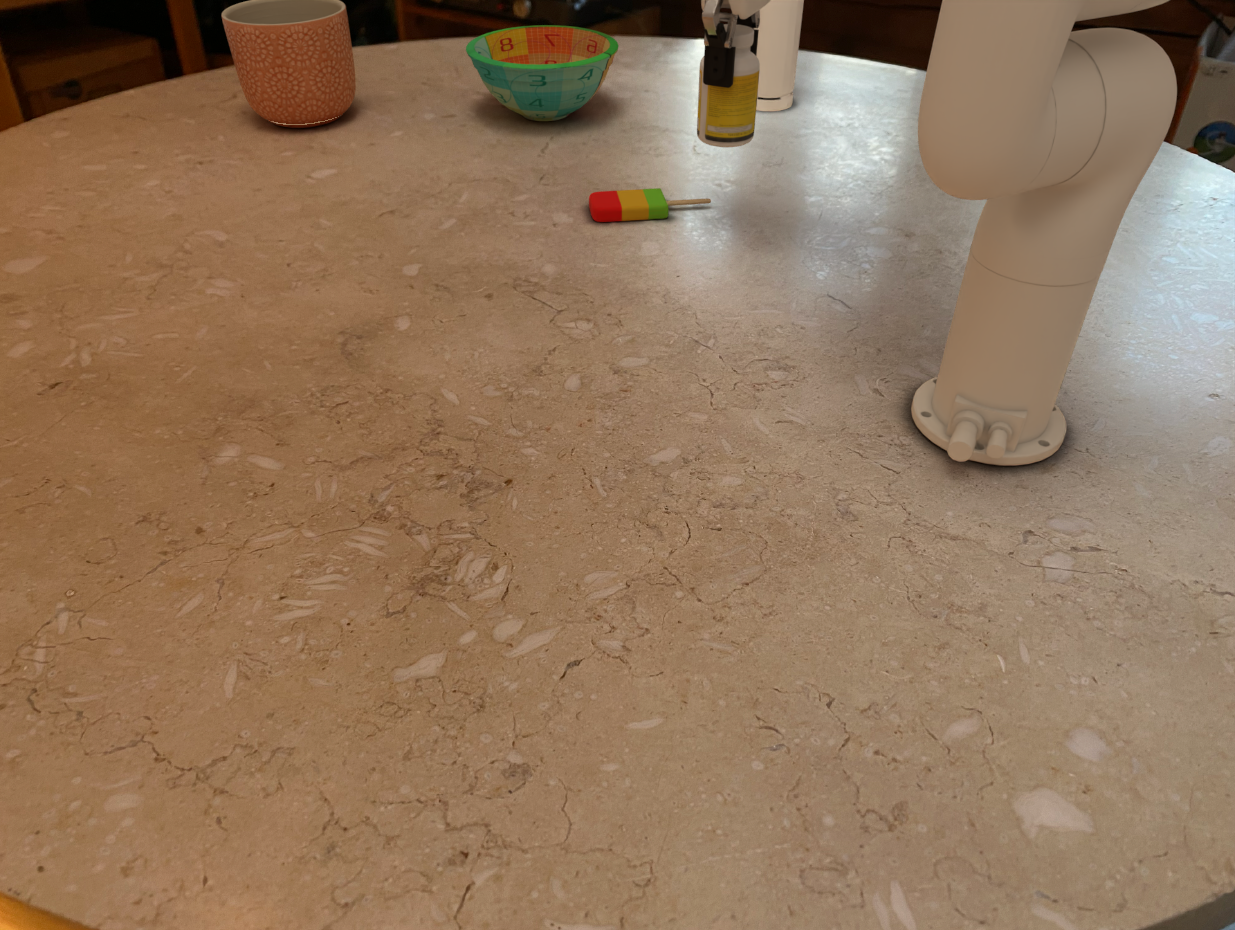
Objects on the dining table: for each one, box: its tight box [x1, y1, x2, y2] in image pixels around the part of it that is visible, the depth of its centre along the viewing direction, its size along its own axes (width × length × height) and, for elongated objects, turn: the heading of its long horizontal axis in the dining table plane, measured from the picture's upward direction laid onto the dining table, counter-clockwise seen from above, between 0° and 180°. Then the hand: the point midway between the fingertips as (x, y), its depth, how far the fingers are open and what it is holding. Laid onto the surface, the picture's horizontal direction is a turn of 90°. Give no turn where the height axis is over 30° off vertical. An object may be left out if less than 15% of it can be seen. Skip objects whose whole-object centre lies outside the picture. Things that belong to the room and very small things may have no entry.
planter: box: [221, 0, 357, 129], centre depth 138 cm, size 17×17×15 cm
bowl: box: [465, 24, 619, 122], centre depth 140 cm, size 22×22×10 cm
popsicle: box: [588, 187, 712, 223], centre depth 115 cm, size 6×15×2 cm, turn 98°
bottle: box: [754, 0, 805, 112], centre depth 138 cm, size 8×8×28 cm
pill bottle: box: [696, 23, 760, 148], centre depth 103 cm, size 6×6×12 cm
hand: (729, 74), depth 102 cm, fingers closed on pill bottle, 6 cm apart
